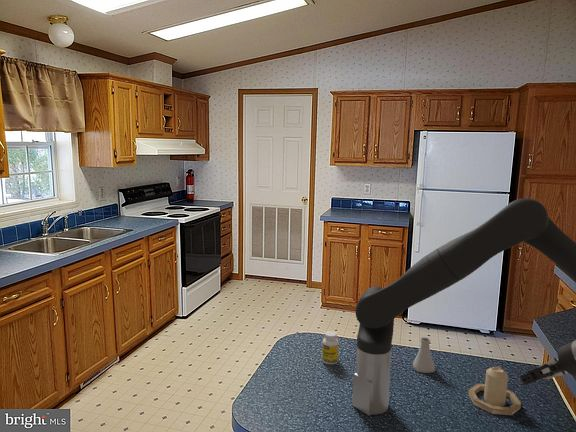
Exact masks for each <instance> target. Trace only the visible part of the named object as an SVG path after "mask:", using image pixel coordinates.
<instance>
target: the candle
mask: <svg viewBox="0 0 576 432" xmlns="http://www.w3.org/2000/svg"><path fill="white" fill-rule="evenodd" d="M485 372H486V373H485V379H484V380H485V382H484V384H485V391H483V393H484V394H483V400H484V402H485V403H487V404H490V405H492V406H498V407H505V406H506V399H507V397H506V392H507V390H508V381H509V375H508V373H507V372H506V371H505V370H504V369H502V368H501V366H499V365H498V366H493V367H489V368H488V369H486V371H485Z"/></svg>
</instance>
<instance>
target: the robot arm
mask: <svg viewBox="0 0 576 432" xmlns="http://www.w3.org/2000/svg"><path fill="white" fill-rule="evenodd" d="M523 242H524V243H527V244H528V245H530V246H531V247H533V248H534V249H536V250H537V251H539V252H540V253H542V254H543V255H544V256H546V257H547V259H549V260H551V261H552V262H553V263H555V265H556V266H558V267H559V268H560V270H562V271H563V272H564V273H565V274H566V275H567V276H568V277H569V278H570V279H571V280H572V281H573V282H575V283H576V241H574V240H573V239H572V238H570V236H568V235H567V234H566V233H565V232H563V230H562V229H560V228H559V227H558V225H556V223H554V221H553V220H552V219H551V218H550V216H549V213H548V211H547V209H546V207H545V206H544V205H543V204H542V203H541V202H540V201H538V200H535V199H532V198H525V197H524V198H518V199H515V200H513V201H511V202H509V203H508V204H507V205H506V206H504V207H503V208H502V209H501V210H499V211H498V212H497V213H496V214H494V215H493V216H492V217H491V218H489V219H487V220H486V221H485V222H483V223H482V224H481V225H479V226H478V227H476V228H474V229H473V230H471V231H469V232H467V233H464V234H462V235H460V236H458V237H456V238H453V239H451V240H450V241H448V242H447V243H445V244H443V245H441V246H440V247H438V248H436V249H434V250H432V251H431V252H429V253H428V254H426V255H425V256H423V257H421V259H420V260H418V261H417V262H416V263H414V264H413V265H412V266H411V267H410V268H409V269H407V270H406V271H405V272H404V273H403V274H402V275H401V276H400V277H399V278H398V279H395V280H394V281H393V282H392V283H390V284H389V285H387V286H384V287H381V286H372V287H369V288H367V289H366V290H364V291H363V293H362V295H361V296H360V297H359V299H358V301H357V303H356V305H355V317H356V320H357V321H358V323H359V326H358V327H359V328H358V333H357V335H356V354H355V355H356V357H355V359H356V360H355V362H356V363H355V373H353V377H352V380H353V381H352V406H353V407H354V408H356V409H358V410H359V411H360V412H362V413H364V414H365V415H366V416H372V415H381V414H384V413H386V412H387V411H388V409H389V400H390V399H389V398H390V381H391V363H392V361H391V359H392V346H393V345H392V343H393V336H394V325H395V324H394V323H395V318H396V317H398V316H400V315H401V314H402V313H405V311H407V310H408V309H410V308H411V307H413V306H415V305H416V304H419V303H420V302H422V301H424V300H426V299H427V300H428V299H429V298H431V297H432V296H435V295H436V294H439V293H440V292H442V291H444V290H446V289H448V288H450V287H451V286H453V285H455V284H457V283H458V282H460V281H462V280H464V279H465V278H467V277H469V275H471V274H473V273H475V271H477V270H478V269H480V268H481V267H482V266H483V265H485V264H486V263H487V262H488V261H489V260H491V259H492V258H494V257H495V256H497V255H498V254H500V253H502V252H503V251H507V250H508V249H510V248H512V247H515V246H517V245H519V244H521V243H523ZM557 349H558V350H557V357H554V358H551V359H549V361H547V362H545V363H543V364H542V363H541V364H540V365H538V367H536V368H534V369H531V370H528V371H527V372H526V373H525V374H522V375H520V377H519V378H520V380H521V382H522V384H523V385H525V386H527V385H529V384H532V383H536V382H539V381H540V380H543V379H545V380H550V379H553V378H556V377H561V376H562V377H563V376H565V375H567V374H568V375H571V376H572V377H574V378H576V339H575V340H572V341H570V342H568V343H565V344H564V345H561V346H560V347H559V348H557Z"/></svg>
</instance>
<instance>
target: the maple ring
mask: <svg viewBox="0 0 576 432" xmlns="http://www.w3.org/2000/svg"><path fill="white" fill-rule="evenodd" d="M481 391H483V392H484V391H485V383H476V384H475V385H473V386H472V387H471V388H469V389H468V396H469V398H470V400H471V401H472V403H473V405H474V406H476V407H477V408H480V409H482V410H483V411H486V412H487V413H490V414H492V415H506V416H513V415H515V413H516V412H518V411H519V410H520V409H521V408H522V402H521V401H520V399H519V398H518V396H517V395H516V394H515V392H513V391H511V390H509V389H507V392H506V398H508V399H510V401H511V403H512V404H511V405H510V406H503V407H498V406H492V405H490V404H488V403H486V402H485V401H483V400H481V399H480V398H478V396H477V394H478V393H479V392H481Z"/></svg>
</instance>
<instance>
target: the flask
mask: <svg viewBox="0 0 576 432" xmlns="http://www.w3.org/2000/svg"><path fill="white" fill-rule="evenodd" d="M419 339H420V348H419V350H418V352H417V354H416V357H415V358H414V360H413V363H412V369H414V370H415V371H416V372H417V373H418V372H419V373H423V374H430V373H435V372H436V367H435V364H434V360H433V358H432V357H433V356H432V354H431V349H430V343H431V338H429V337H426V336H425V337H424V336H423V337H420V338H419Z"/></svg>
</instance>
